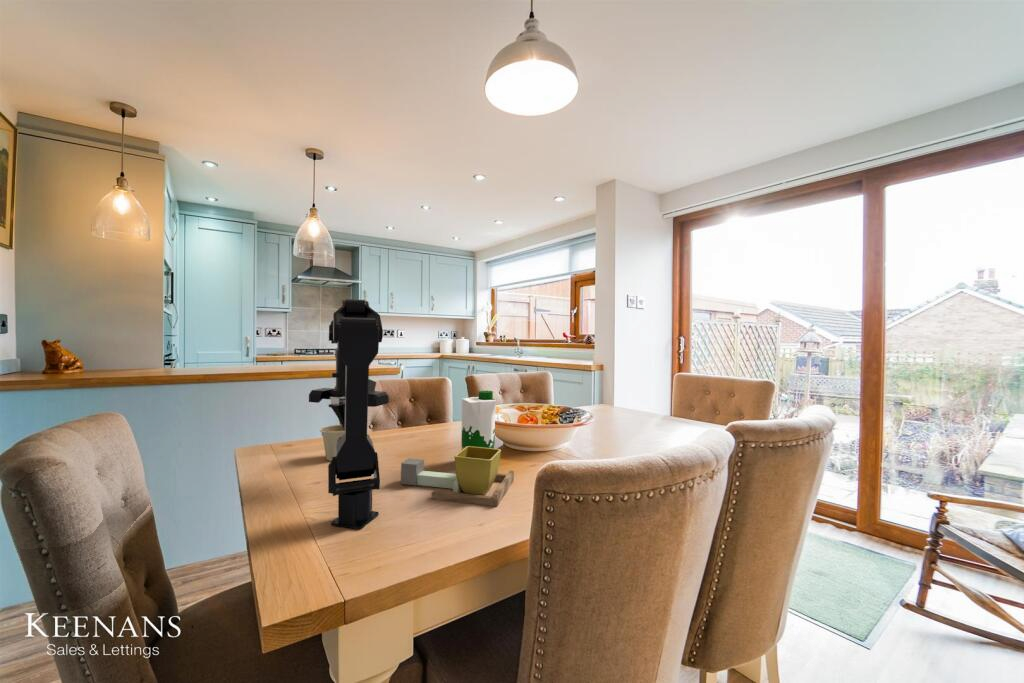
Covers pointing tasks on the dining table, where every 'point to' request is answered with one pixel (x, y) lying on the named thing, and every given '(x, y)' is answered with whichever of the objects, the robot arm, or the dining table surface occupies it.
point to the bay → (479, 499)
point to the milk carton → (479, 420)
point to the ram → (426, 476)
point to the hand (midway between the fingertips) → (348, 432)
